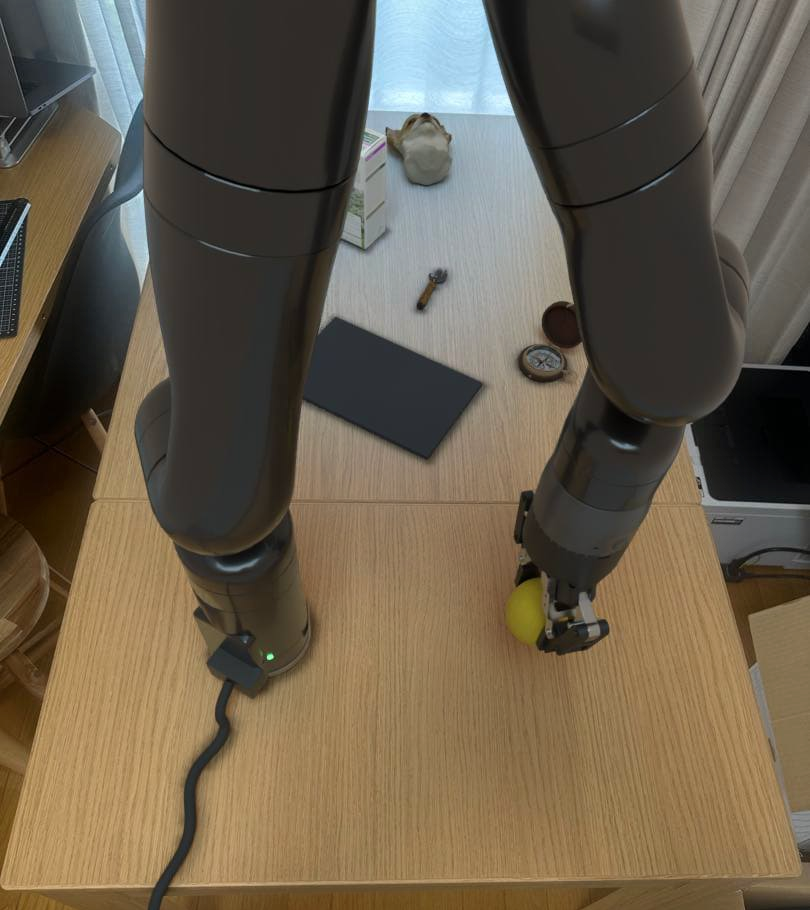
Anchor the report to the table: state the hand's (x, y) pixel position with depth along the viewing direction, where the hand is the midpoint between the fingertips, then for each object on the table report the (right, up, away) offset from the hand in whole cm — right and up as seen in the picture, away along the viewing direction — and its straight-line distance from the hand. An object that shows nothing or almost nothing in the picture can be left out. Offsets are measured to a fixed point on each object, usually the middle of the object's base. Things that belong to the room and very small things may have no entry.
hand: (536, 614), depth 66 cm
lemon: (0, -2, +3) cm, 4 cm away
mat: (-15, +26, +27) cm, 40 cm away
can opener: (-8, +41, +36) cm, 55 cm away
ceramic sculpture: (-9, +66, +52) cm, 85 cm away
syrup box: (-18, +51, +42) cm, 69 cm away
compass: (+7, +29, +30) cm, 42 cm away
